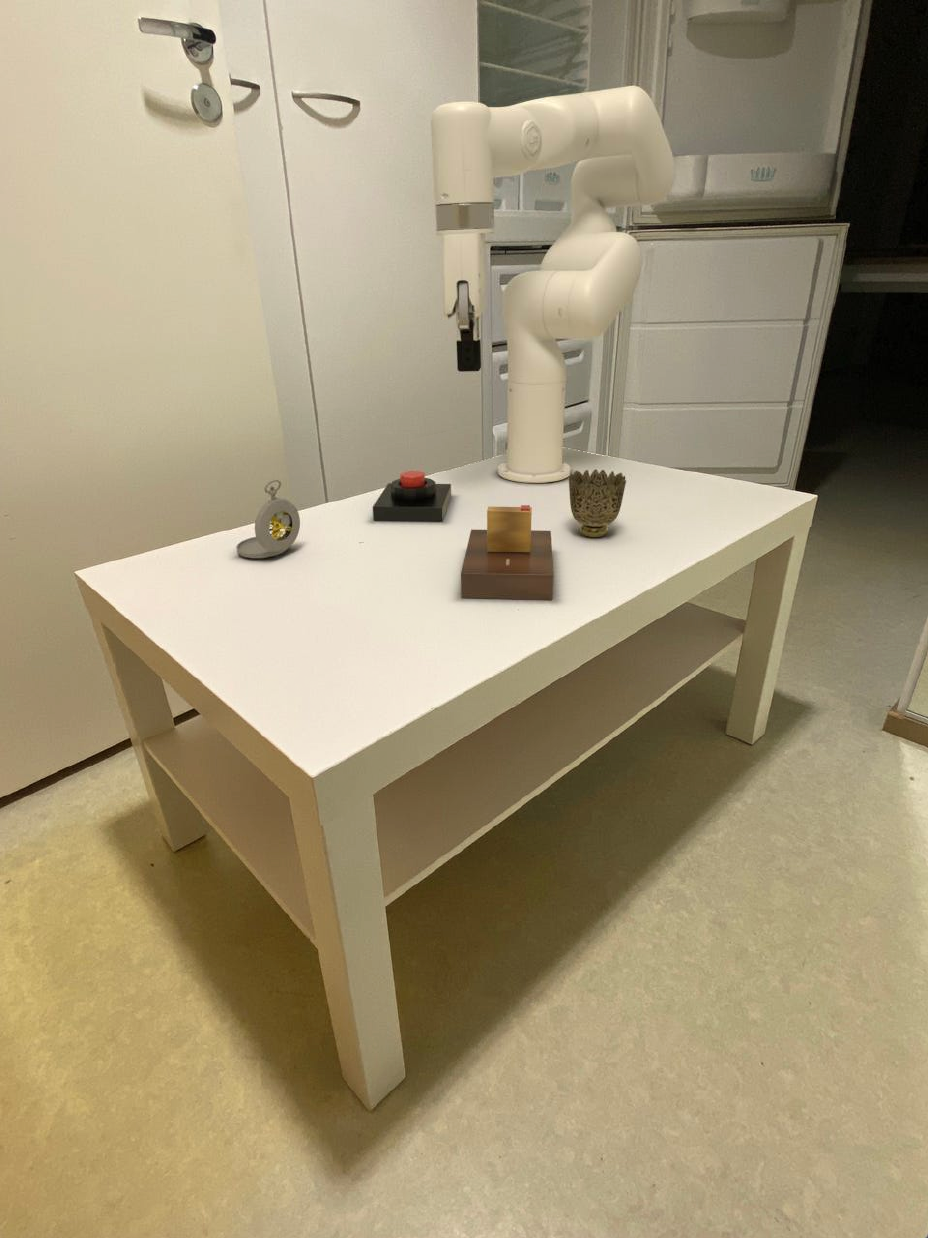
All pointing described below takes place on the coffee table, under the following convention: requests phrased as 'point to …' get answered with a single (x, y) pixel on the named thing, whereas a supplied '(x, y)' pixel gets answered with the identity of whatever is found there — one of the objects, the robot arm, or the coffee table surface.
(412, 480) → the bell button
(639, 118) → the robot arm
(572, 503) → the cup
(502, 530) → the lock turn
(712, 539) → the coffee table surface
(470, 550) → the plate
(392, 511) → the black button mount
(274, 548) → the pocket watch
